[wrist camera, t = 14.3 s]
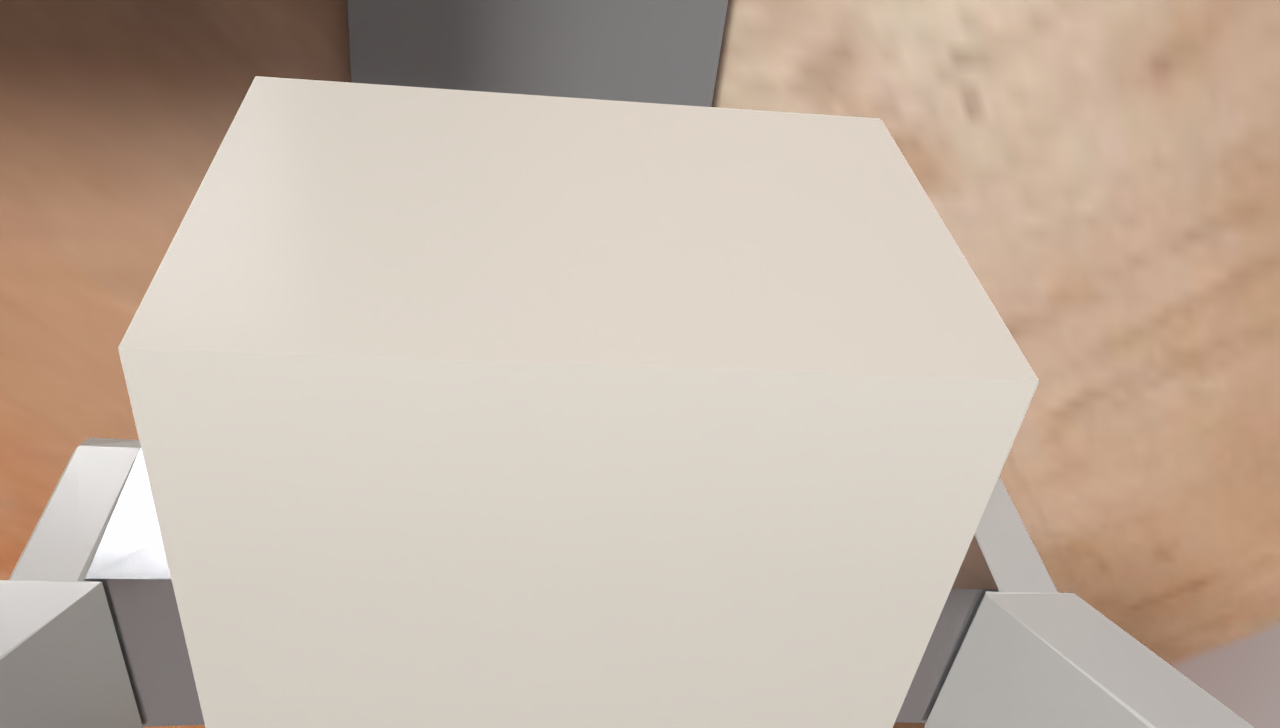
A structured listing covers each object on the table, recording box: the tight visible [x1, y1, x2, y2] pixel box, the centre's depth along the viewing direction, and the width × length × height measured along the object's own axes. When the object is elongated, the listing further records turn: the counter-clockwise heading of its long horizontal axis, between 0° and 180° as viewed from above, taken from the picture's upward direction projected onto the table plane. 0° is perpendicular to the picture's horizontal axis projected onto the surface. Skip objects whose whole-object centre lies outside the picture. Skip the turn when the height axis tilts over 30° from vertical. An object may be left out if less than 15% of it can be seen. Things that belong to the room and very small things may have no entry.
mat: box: [347, 0, 728, 107], centre depth 18 cm, size 8×6×1 cm
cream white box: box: [118, 76, 1039, 728], centre depth 9 cm, size 7×5×4 cm
